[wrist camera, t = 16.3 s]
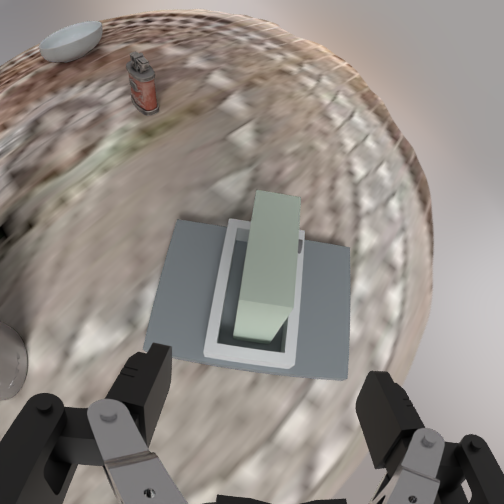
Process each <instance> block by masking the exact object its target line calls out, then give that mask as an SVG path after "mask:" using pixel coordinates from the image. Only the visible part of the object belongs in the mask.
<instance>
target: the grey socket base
mask: <svg viewBox="0 0 504 504" xmlns="http://www.w3.org/2000/svg"><path fill="white" fill-rule="evenodd" d="M250 225H251V222H250V221H244V220H238V219H231V218H229V222H228V227H224V226H218V225H211V224H205V223H198V222H192V221H185V220H179V219H177V222H176V225H175V229H174V232H173V235H172V239H171V242H170V245H169V249H168V252H167V256H166V259H165V263H164V267H163V270H162V274H161V278H160V281H159V285H158V289H157V293H156V296H155V300H154V304H153V308H152V312H151V316H150V320H149V325H148V329H147V333H146V337H145V342H144V346H143V350H144V351H145V352H148V350H149V349H150V347H151V345H152V343H153V342H154V343H159V344H163V345H168V346H172V358H175V359H180V360H185V361H190V362H195V363H201V364H206V365H212V366H218V367H224V368H230V369H237V370H243V371H250V372H258V373H266V374H274V375H283V376H292V377H302V378H313V379H326V380H341V381H342V380H345V379H347V377H348V360H349V337H350V247H344V246H339V245H333V244H327V243H321V242H316V241H310V240H304V237H305V231H304V230H299V239H301V240H303V245H302V250H301V253H300V254H299V253H298V257H297V272H296V285H295V298H294V308H293V310H292V311H291V313H290V314H289V316H288V317H287V319H286V320H285V322H284V323H283V324H282V326H281V327H280V329H279V330H278V332H277V333H276V335H275V336H274V338H273V339H272V341H271V342H270V343H269V344H264V343H257V342H250V341H243V340H237V339H233V334H234V327H235V321H236V314H237V308H238V301H239V295H240V288H241V282H242V276H243V269H244V263H245V256H246V250H247V244H248V238H249V232H250Z"/></svg>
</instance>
